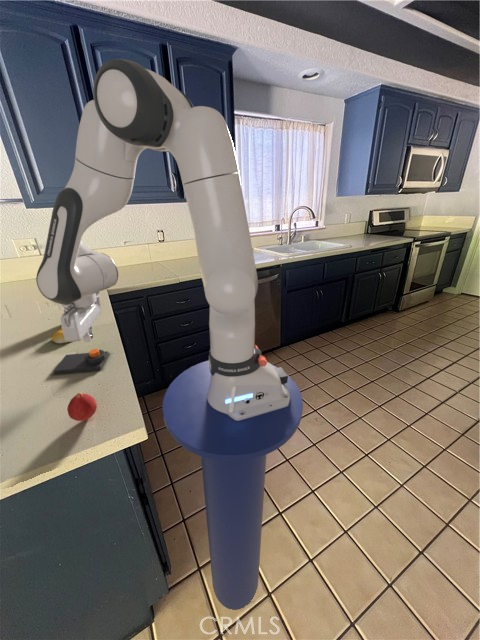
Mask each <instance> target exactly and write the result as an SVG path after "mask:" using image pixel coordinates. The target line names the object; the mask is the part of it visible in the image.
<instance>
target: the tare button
mask: <svg viewBox="0 0 480 640" xmlns="http://www.w3.org/2000/svg"><path fill="white" fill-rule="evenodd" d="M99 350H100V349H99V348H93V349H90V350H89V351H88V353H89V355H90V357H91V358H92V357H97V356H99V355H100V353H99Z"/></svg>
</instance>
